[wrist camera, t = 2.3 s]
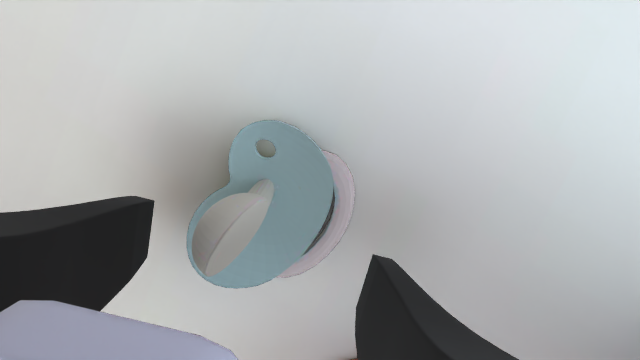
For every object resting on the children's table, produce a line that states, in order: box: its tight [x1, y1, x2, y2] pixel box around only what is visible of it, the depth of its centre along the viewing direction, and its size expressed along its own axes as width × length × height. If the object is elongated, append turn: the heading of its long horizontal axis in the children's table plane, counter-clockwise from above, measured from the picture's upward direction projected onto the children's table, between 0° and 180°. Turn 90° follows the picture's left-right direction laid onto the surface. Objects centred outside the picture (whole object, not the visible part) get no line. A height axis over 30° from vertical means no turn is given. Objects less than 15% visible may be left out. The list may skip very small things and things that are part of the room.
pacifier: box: [187, 120, 355, 288], centre depth 14 cm, size 7×6×6 cm
